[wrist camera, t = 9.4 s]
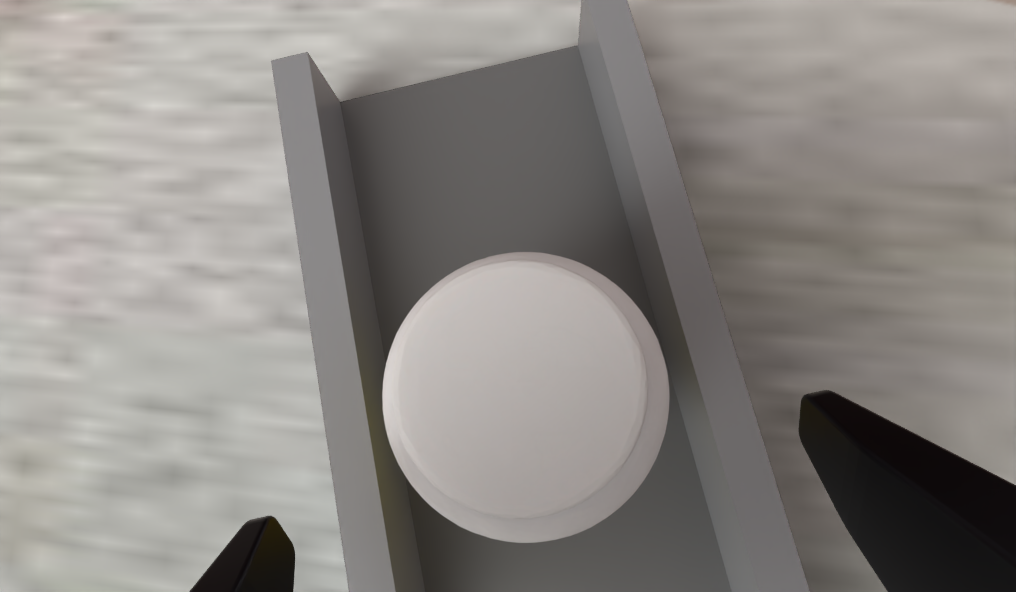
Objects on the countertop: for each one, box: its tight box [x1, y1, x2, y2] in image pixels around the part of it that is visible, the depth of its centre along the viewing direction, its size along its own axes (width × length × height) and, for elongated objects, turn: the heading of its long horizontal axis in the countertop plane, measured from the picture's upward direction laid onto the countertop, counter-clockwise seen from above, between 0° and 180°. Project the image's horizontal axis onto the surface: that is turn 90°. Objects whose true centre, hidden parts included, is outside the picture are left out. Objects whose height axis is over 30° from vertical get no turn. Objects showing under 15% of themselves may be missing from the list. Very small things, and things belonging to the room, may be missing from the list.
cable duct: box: [271, 0, 810, 592], centre depth 18 cm, size 24×11×4 cm, turn 12°
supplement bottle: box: [382, 252, 669, 543], centre depth 14 cm, size 6×6×10 cm
